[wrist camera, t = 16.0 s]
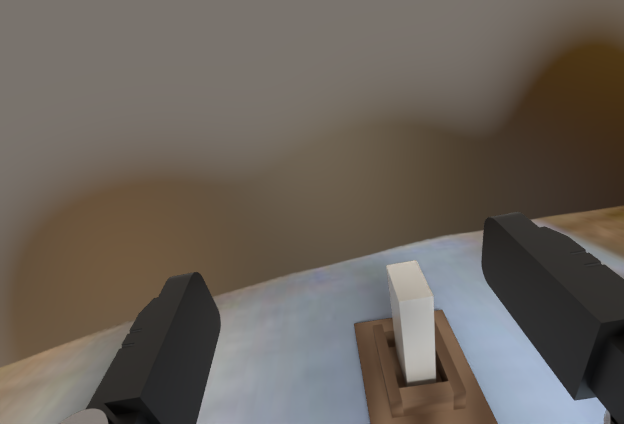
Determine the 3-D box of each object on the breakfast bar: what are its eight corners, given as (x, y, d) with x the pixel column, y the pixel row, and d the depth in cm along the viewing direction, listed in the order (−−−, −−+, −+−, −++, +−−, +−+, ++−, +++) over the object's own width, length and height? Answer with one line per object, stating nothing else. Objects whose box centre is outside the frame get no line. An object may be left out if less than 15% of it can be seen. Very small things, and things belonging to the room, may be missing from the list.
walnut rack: (377, 462, 31) (372, 441, 29) (354, 328, 45) (350, 308, 43) (505, 447, 30) (509, 424, 28) (442, 314, 44) (441, 293, 42)
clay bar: (408, 394, 35) (399, 301, 28) (396, 353, 40) (386, 265, 33) (436, 390, 35) (433, 296, 28) (421, 349, 39) (416, 260, 32)
